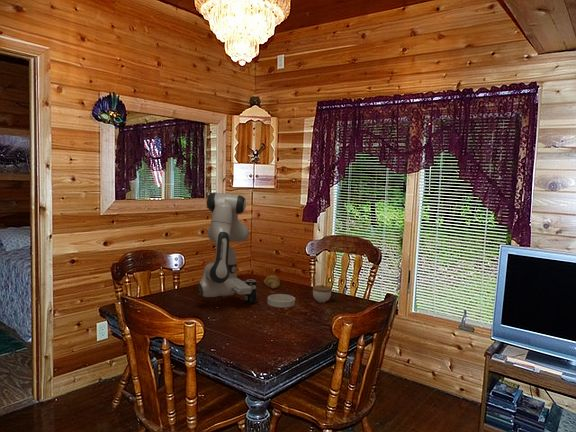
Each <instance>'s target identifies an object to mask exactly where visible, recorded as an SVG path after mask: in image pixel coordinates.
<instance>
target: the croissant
mask: <svg viewBox="0 0 576 432" xmlns="http://www.w3.org/2000/svg"><path fill="white" fill-rule="evenodd" d="M263 283H264V285H265V287H268V288H270V289H272V290H274V289H277V288H279V287H280V284H281V281H280V278H279V277H278V276H277V275H275V274H272V275H271V274H270V275H268V276H266V277H265V278H264V280H263Z"/></svg>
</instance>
